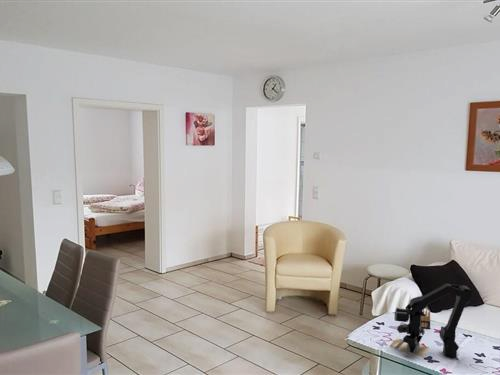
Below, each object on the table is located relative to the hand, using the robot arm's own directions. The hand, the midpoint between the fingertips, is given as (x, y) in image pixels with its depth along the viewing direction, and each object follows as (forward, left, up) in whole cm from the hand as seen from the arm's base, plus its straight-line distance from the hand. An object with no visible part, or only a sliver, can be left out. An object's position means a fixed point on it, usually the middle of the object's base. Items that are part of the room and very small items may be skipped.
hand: (413, 350), depth 221 cm
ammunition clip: (+29, -25, -2) cm, 38 cm away
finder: (0, 0, 0) cm, 0 cm away
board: (+5, -1, -2) cm, 5 cm away
